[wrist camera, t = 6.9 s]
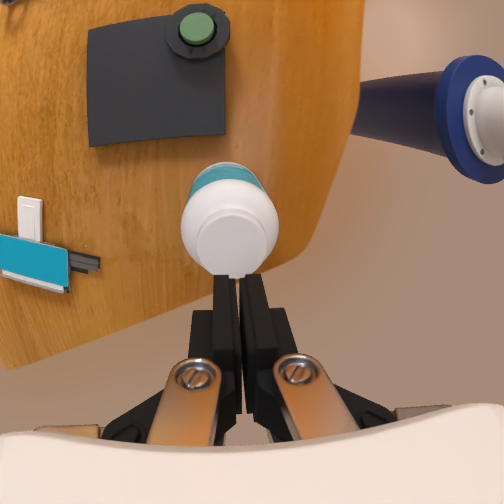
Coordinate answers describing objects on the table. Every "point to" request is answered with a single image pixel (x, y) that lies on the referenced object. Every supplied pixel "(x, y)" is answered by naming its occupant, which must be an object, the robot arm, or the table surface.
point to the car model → (8, 2)
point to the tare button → (197, 28)
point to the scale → (155, 79)
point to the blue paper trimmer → (39, 253)
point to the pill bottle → (229, 221)
